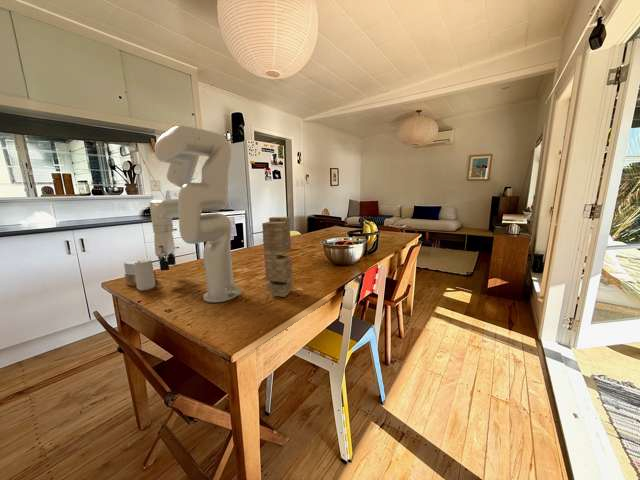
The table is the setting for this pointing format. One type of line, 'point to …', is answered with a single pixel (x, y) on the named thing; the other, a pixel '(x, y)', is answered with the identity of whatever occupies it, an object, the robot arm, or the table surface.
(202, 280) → the table surface
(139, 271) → the beverage can
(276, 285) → the block tower
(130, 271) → the pale gray block
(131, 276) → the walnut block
